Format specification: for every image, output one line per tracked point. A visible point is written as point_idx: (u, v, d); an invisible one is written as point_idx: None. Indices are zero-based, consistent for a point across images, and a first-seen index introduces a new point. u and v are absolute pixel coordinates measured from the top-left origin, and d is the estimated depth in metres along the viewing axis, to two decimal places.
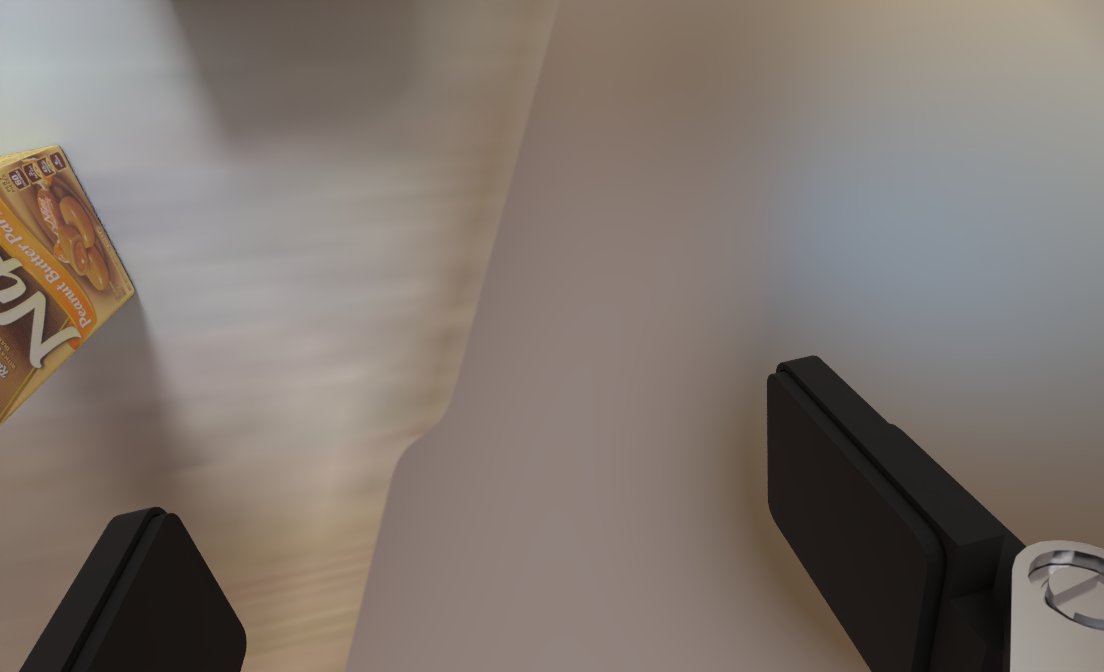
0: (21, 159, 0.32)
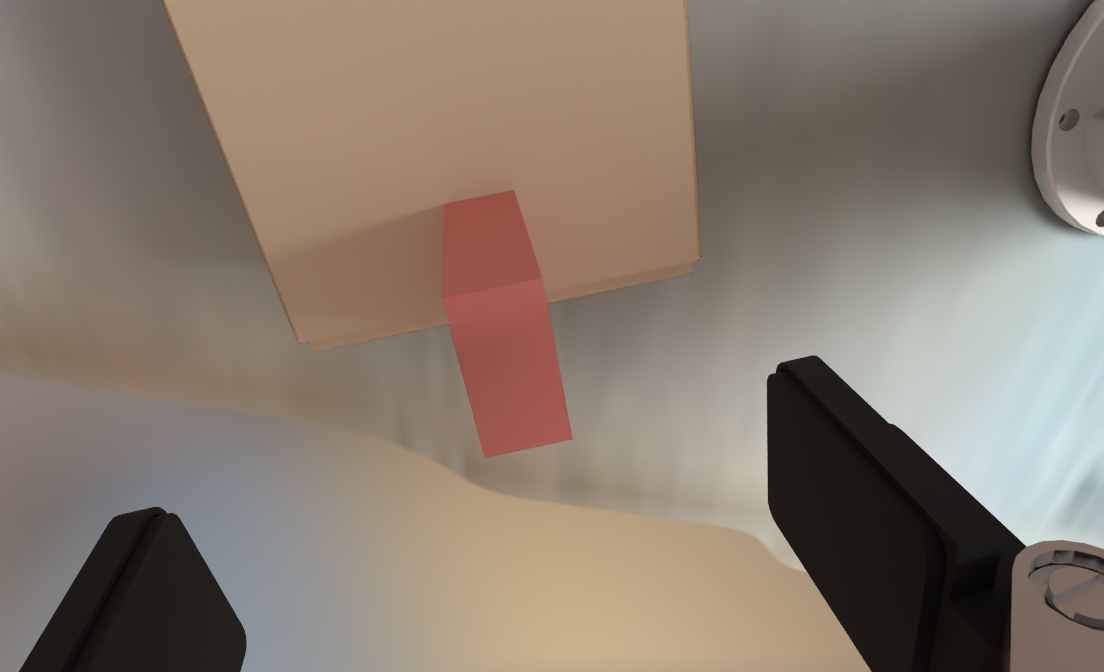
0: None
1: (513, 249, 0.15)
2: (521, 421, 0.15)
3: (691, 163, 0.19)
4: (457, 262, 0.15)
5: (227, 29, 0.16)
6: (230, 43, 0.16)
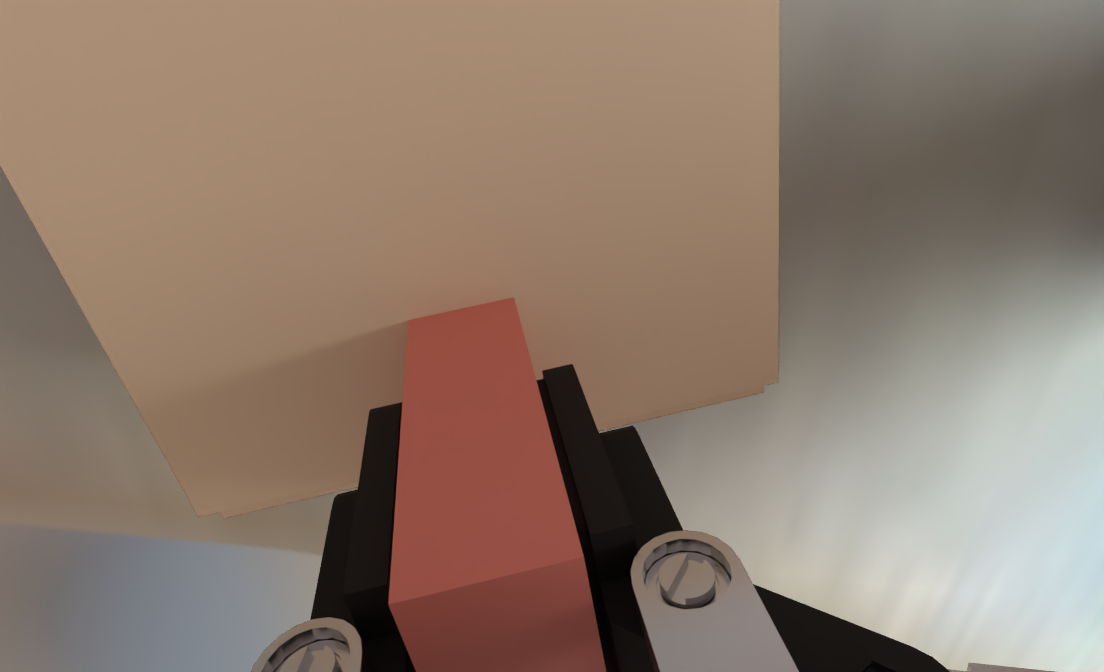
0: None
1: (521, 453, 0.08)
2: None
3: (777, 252, 0.13)
4: (422, 481, 0.08)
5: (34, 62, 0.10)
6: (40, 85, 0.10)
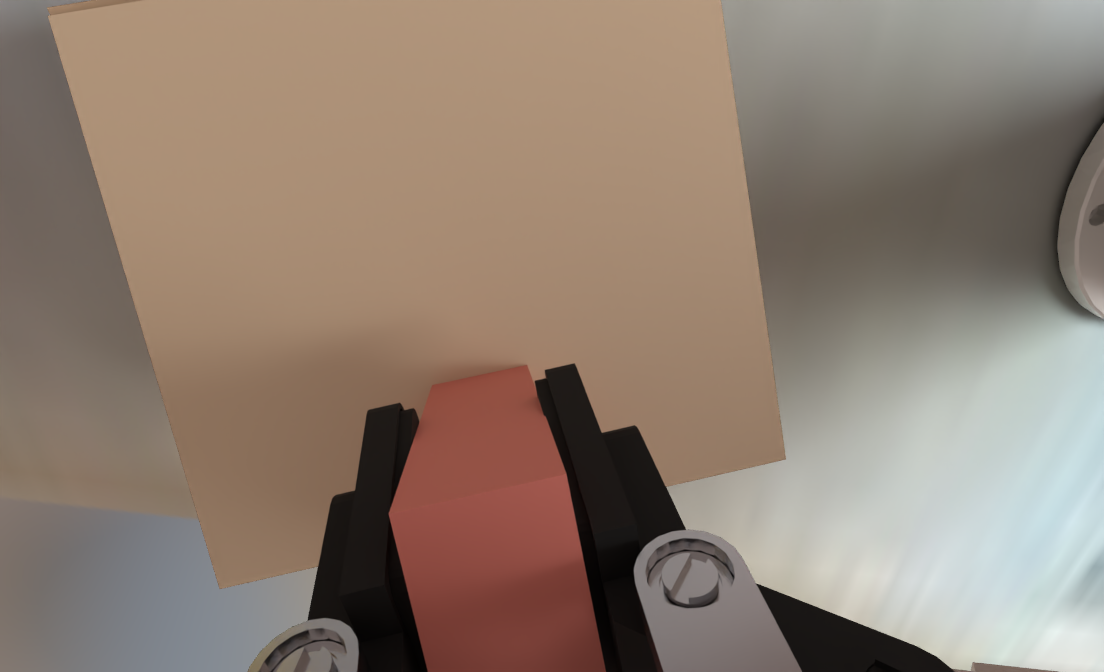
0: None
1: (520, 433, 0.09)
2: None
3: (766, 327, 0.14)
4: (430, 455, 0.09)
5: (159, 165, 0.13)
6: (160, 181, 0.13)
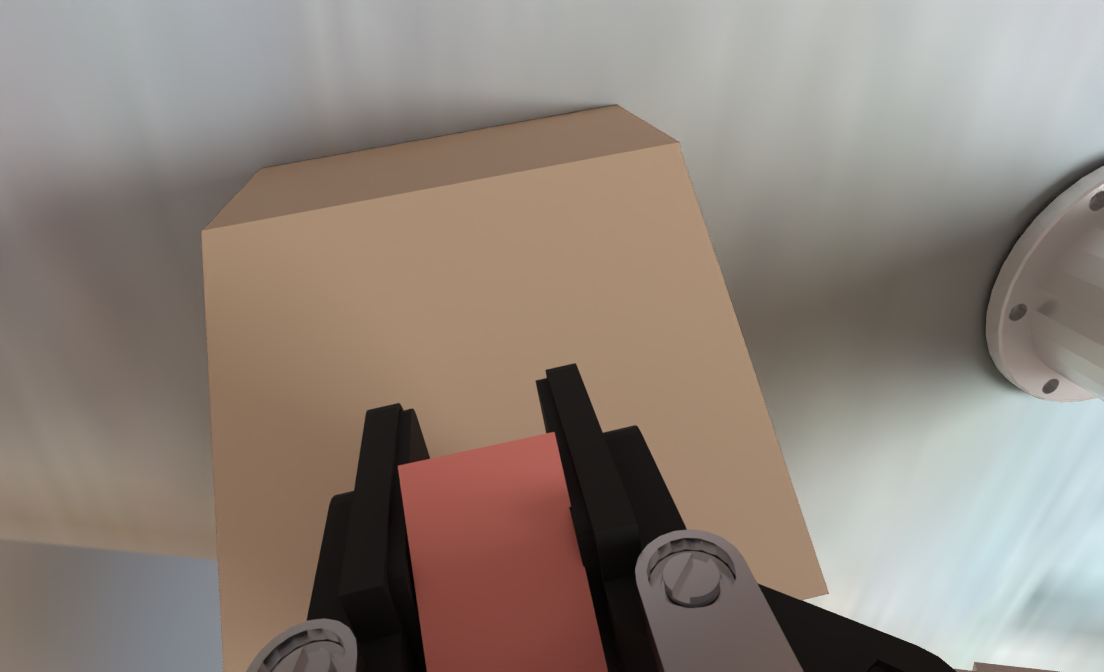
0: None
1: None
2: None
3: (781, 452, 0.15)
4: None
5: (256, 327, 0.16)
6: (254, 338, 0.16)
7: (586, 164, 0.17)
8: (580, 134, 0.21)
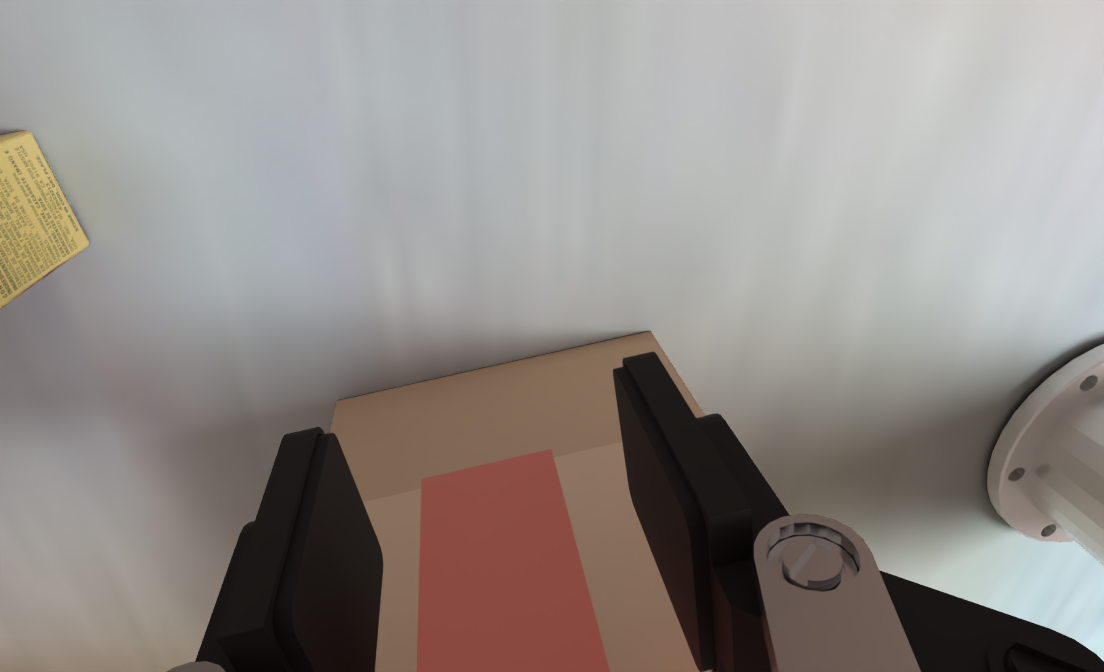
0: (37, 279, 0.19)
1: None
2: (505, 647, 0.07)
3: None
4: None
5: None
6: None
7: None
8: None
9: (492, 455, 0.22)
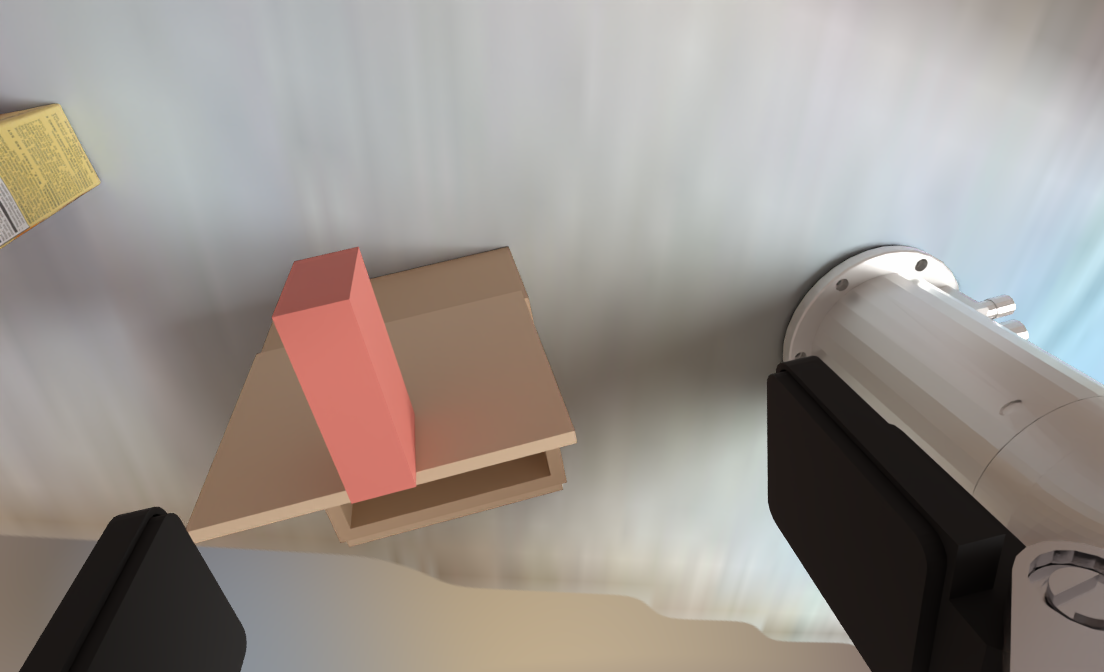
0: (70, 200, 0.29)
1: None
2: (313, 296, 0.18)
3: (556, 383, 0.24)
4: None
5: (270, 380, 0.28)
6: (268, 384, 0.28)
7: (469, 304, 0.31)
8: (478, 281, 0.35)
9: None
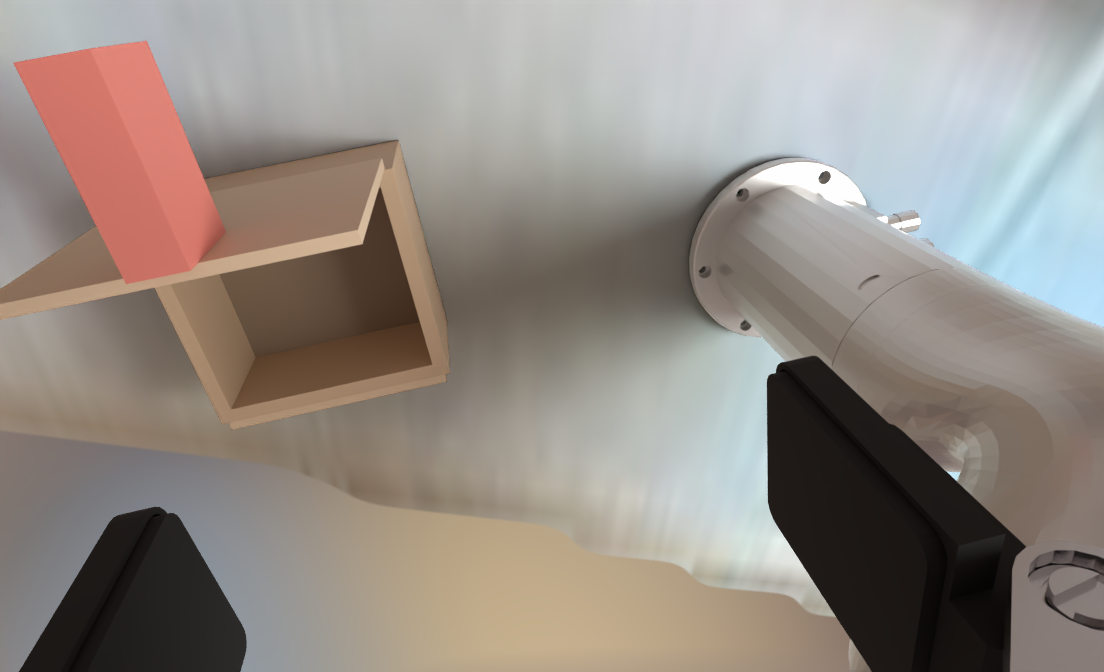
0: None
1: None
2: None
3: (366, 206, 0.24)
4: None
5: None
6: None
7: (328, 169, 0.32)
8: (354, 162, 0.35)
9: None
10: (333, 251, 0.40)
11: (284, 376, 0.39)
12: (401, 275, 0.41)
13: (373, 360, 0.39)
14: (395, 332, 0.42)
